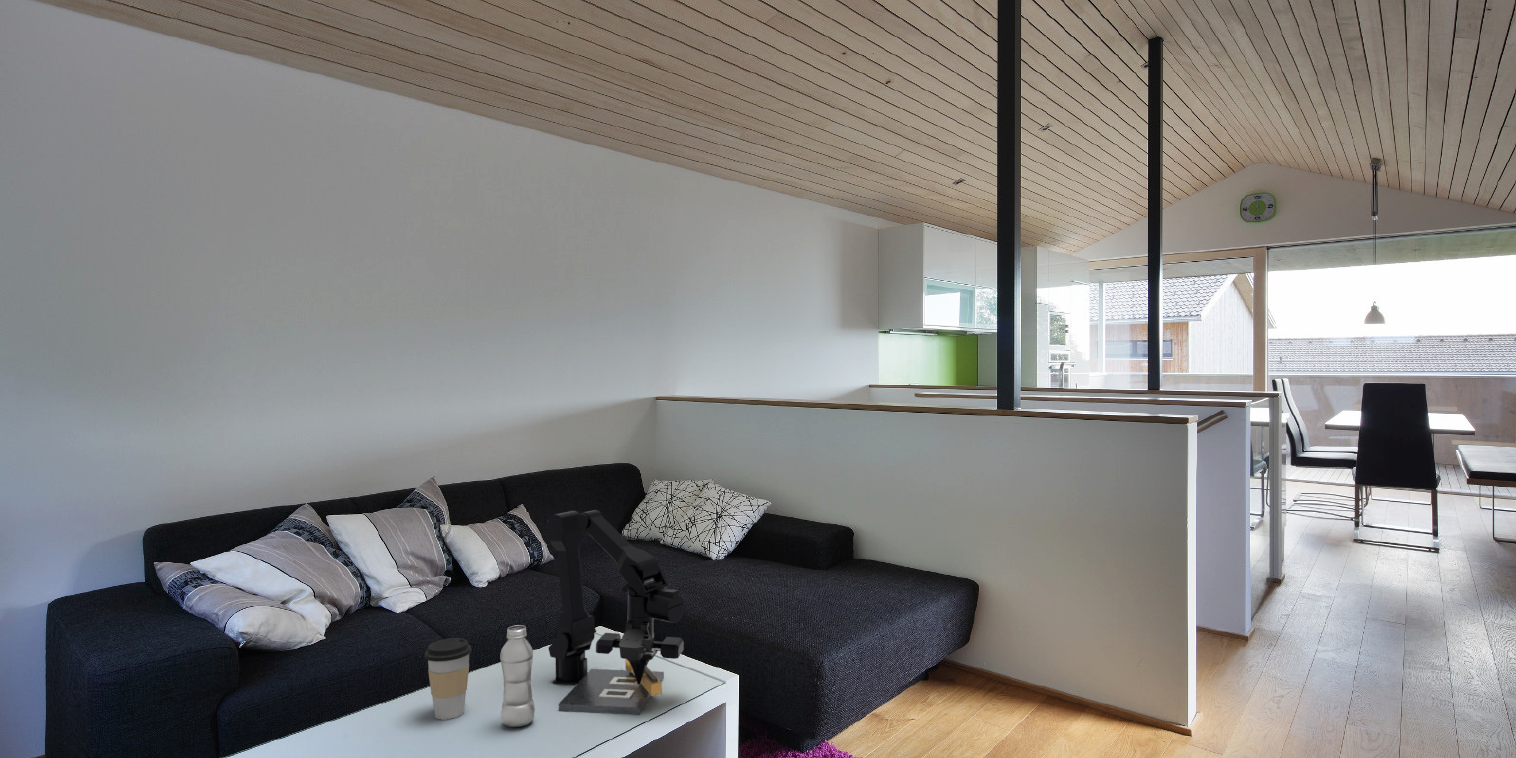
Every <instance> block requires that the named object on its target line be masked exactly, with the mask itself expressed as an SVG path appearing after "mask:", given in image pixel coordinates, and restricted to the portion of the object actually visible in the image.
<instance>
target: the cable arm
mask: <svg viewBox="0 0 1516 758" xmlns="http://www.w3.org/2000/svg"><path fill="white" fill-rule="evenodd" d="M624 660H625V661H624V662H625V670H628V671H631V672H632V673H633V674H634V671H633V669H632V666H631V664H630V662H629V661H628V660H627V659H624ZM634 675H635V674H634ZM641 684H642V685H643V686H644V688H645V689H646V690H647V691H648V692H649V694H650V695H651V696H652V697H653V696H658V695H663V682H661V681H660V680H659V679H658V678H657V677H656V676H655V675H654V674H653V672H652V670H651V669H650V668H649V667H648V666H647V667H646V669H645V672H644V675H643V678H642V680H641Z"/></svg>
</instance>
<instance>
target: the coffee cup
mask: <svg viewBox="0 0 1516 758" xmlns="http://www.w3.org/2000/svg"><path fill="white" fill-rule="evenodd" d="M471 653H472V646H471V645H470V644H469V642H468V640H467V639H466V638H462V637H449V638H443V639H440V640H436V641H433V642H431V643H430V644H429V645H428V647H427V650H425V653H424V656H423V657H424V659H425V660H427V663H428V670H427V671H428V678H429V687H430V694H431V696H432V704H433V712H434V717H435V719H438V720H440V719H441V721H445V720H447V719H448V720H452V718H453V719H455V718H458V716H459V717H460V715H461V716H463V714H464V713H465V707H466V706H465V705H466V697H467V691H468V684H469V683H468V682H469V680H468V679H469V672H470V671H469V670H470V669H469V668H470V662H469V661H470V654H471Z"/></svg>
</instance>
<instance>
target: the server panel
mask: <svg viewBox="0 0 1516 758" xmlns="http://www.w3.org/2000/svg"><path fill="white" fill-rule="evenodd" d="M651 671H652V670H651ZM587 672H588V673H587V674H586V675H585V676H584V677H583V678H582V679H581V680H580V681H579V683H578V684H575V686H574V687H573V688H572V689H571V690H570V691H569V692H568V693H567V695H565V696H564V698H563V699H562V700H561V701H560V702H559V703H558V711H559V712H574V713H576V712H577V713H599V714H616V715H617V714H618V715H634V716H635V715H638V716H640V715H641V713H642V712H643V711H644V709H645V708H646V706H647V705H646V704H648V703H649V702H650V700H651V699H652V697H653V696H651V695H650V694H649V692H648V691H647V690H646V689H645V688H644V686H643V685H642V684H641V683H640V684H638V683H637V680H636V677H635V675H634V674H633V673H632V672H631V671H628V670H626V669H604V668H590V669H589V670H588V671H587ZM652 672H653V674H654V675H655V676H656V677H657V678H658V679H659V680H660V681H661V683H663V682H662V681H663V680H664V678H665V677H664V676H665V672H664V671H655V670H653V671H652ZM644 707H645V708H644Z"/></svg>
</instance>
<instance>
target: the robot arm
mask: <svg viewBox="0 0 1516 758" xmlns="http://www.w3.org/2000/svg"><path fill="white" fill-rule="evenodd" d="M546 530H547V535H548V539H549V542H550V544H551V546H552V547H553V548H554V549H555V550H556V552H557V553H556V555H557V563H558V573H559V575H558V576H559V584H560V596H561V607H562V614H561V616H560V619H559V621H558V624H557V629H556V630H557V631H556V632H557V634H556V635H557V637H556V638H555V639H554V641H553V642H552V643H551V644H550V645H549V646H548V652H549V657H551V658H554V659H555V678H554V679H553V680H552V683H553V684H559V685H560V684H564V685H577V684H578V683H579V681H580V680H581V679H582V678H583V677H584V676H585V675H586V674H587V673H588V672H589V671H588V658H587V657H586V651H589V650H591V647H592V643H593V641H594V639H595V637H596V636H595V635H596V633H597V629H596V626H595V622H596V621H595V616H594V615H593V614H592V615H590V614H589V613H588V611H586V608H585V601H584V592H583V591H584V590H583V582H582V581H583V580H582V572H581V562H580V561H581V560H580V545H581V543H582V541H583V538H584V535H585V533H586V532H587V534H588V535H589V536H590V537H591V538H592V539H593V540H594V541H595V542H596V543H597V544H598V545H599V546H600V547H601V549H603V550H604V552H606V554H608V555H609V557H611V558H612V559H613V560H614V562H616V565H617V570H618V573H619V575H620V576H621V577H622V578H623V580H624V581H625V582H626V583H625V585H623V586H622V587H621V588H620V592H622V593H626V594H627V621H626V622H625V623H626V624H625V630H624V632H623V635H622V636H621V634H620V633H619V632H618V633H616V632H604V633H603V634H602V635H601V637H599V639H597V641H596V643H595V653H597V654H602V655H603V654H605V655H609V654H611V652H612V651H613V650H614V649H619V655H620V658H621V659H623V660H625V659H627V660H628V661H629V662H630V664H631V666H632V669H633V671H634V674H635V677H636V680H637V683H638V684H640V683H641V680H642V678H643V675H644V672H645V669H646V667H648V664H649V662H650V661H651V660H652V661H653V659H654V657H655V656H656V655H657V653H658V652H660V653H659V654H660V655H661V656H662V658H664V659H674V660H675V659H679V658H680V656H681V654H682V653H683V652H684V649H685V647H684V644H685V642H684V639H682V637H675V636H666V637H665V638H664V640H663V641H655V640H654V638H655V632H654V621H655V619H656V620H660V621H664V622H667V623H671V624H677V623H678V622H680V621H681V619H682V617H683V616H684V613H685V608H686V606H685V605H686V604H685V601H684V600H683V599H684V598H682V596H680V595H679V593H680V592H679V590H678V589H669V588H668V587H669V583H668V582H667V579H666V577H665V575H664V574H663V572H662V569H661V568H660V566H659V562H658V559H656V557H654V556H653V555H651V554H650V553H649V552H648V551H646V550H645V549H641V548H638V547H635V546H634V545H632V544H631V543H630V542H629V541H628V540H627V539H626V538H625V537H624V536H623V535H622V534H621V533H619V531H618V530H617V529H616V528H615V527H614V526H613V525H612V524H611V523H610V522H609V521H608V520H607V519H605V518H604V516H603V514H602V512H601V511H599V510H597V509H593V510H590V511H584V512H581V513H579V512H578V511H577V510H570V511H567V512H566V511H565V512H560V513H555V514H553V515H550V516H549V519H548V520H547V522H546ZM584 530H585V531H584ZM584 532H585V533H584ZM653 581H654V582H653ZM649 582H651V583H649ZM647 583H648V584H647Z"/></svg>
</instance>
